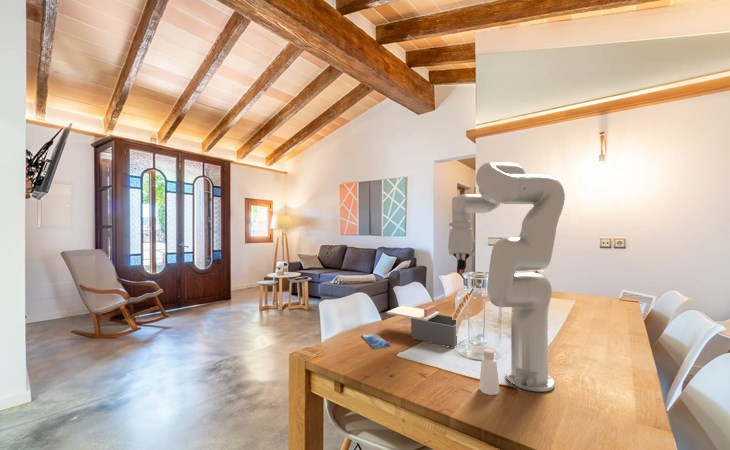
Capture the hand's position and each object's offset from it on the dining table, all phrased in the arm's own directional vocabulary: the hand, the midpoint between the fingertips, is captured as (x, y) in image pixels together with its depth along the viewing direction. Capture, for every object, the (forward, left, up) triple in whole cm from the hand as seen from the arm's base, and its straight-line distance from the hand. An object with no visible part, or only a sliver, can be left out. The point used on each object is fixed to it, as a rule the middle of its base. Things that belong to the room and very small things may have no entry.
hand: (461, 269), depth 133 cm
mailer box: (-11, +6, -27) cm, 30 cm away
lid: (-11, +17, -19) cm, 28 cm away
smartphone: (-28, +25, -28) cm, 47 cm away
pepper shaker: (-40, -22, -27) cm, 53 cm away
